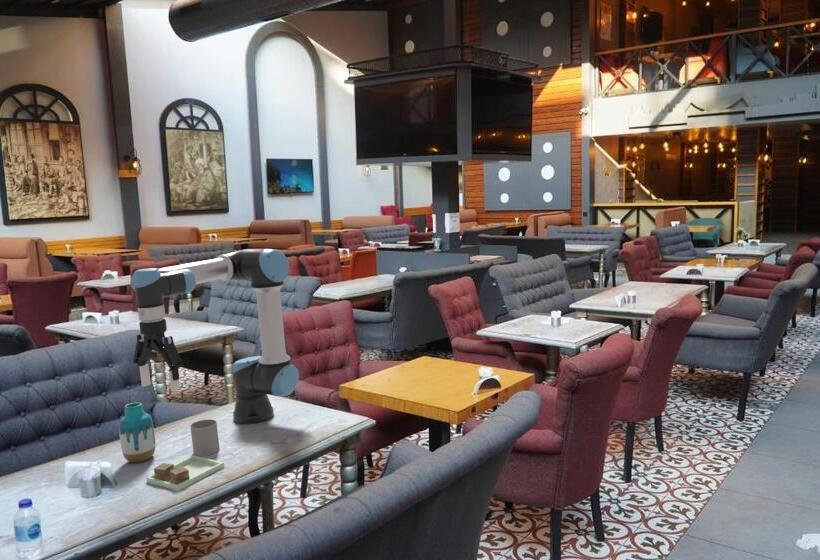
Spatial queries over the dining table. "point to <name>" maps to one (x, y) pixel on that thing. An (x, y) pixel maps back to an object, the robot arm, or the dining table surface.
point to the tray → (190, 471)
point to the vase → (136, 434)
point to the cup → (204, 437)
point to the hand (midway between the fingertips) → (160, 388)
